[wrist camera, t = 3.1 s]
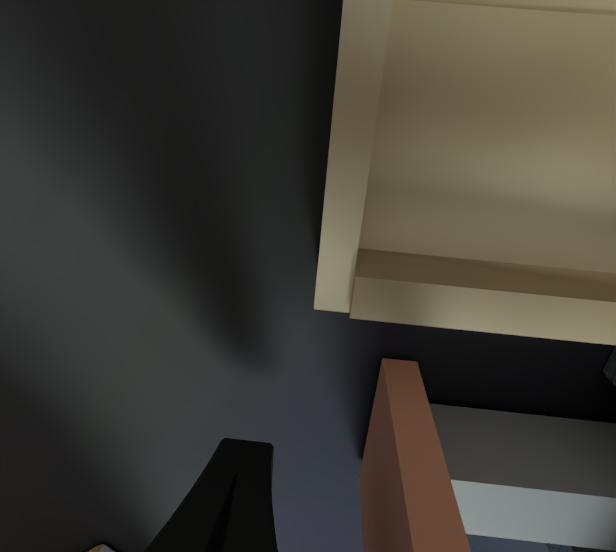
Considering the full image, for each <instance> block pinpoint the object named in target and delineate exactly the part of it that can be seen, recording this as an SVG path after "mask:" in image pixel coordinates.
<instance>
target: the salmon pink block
mask: <svg viewBox="0 0 616 552" xmlns="http://www.w3.org/2000/svg"><path fill="white" fill-rule="evenodd" d="M359 477H360V495H361V514H362V532H363V551H364V552H471V550H470V546H469V543H468V539H467V536H466V534H473V535H482V536H490V537H499V538H507V539H516V540H525V541H533V542H542V543H551V544H559V545H568V546H576V547H585V548H594V549H602V550H611V551H616V423H607V422H597V421H588V420H579V419H569V418H560V417H551V416H541V415H532V414H523V413H513V412H504V411H495V410H485V409H476V408H467V407H457V406H448V405H439V404H429V402H428V399H427V395H426V392H425V388H424V385H423V381H422V378H421V374H420V371H419V367H418V364H417V362H415V361H406V360H396V359H387V358H382V362H381V367H380V373H379V378H378V383H377V388H376V393H375V398H374V403H373V408H372V413H371V419H370V424H369V429H368V434H367V439H366V444H365V449H364V454H363V459H362V465H361V470H360V475H359Z"/></svg>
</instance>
